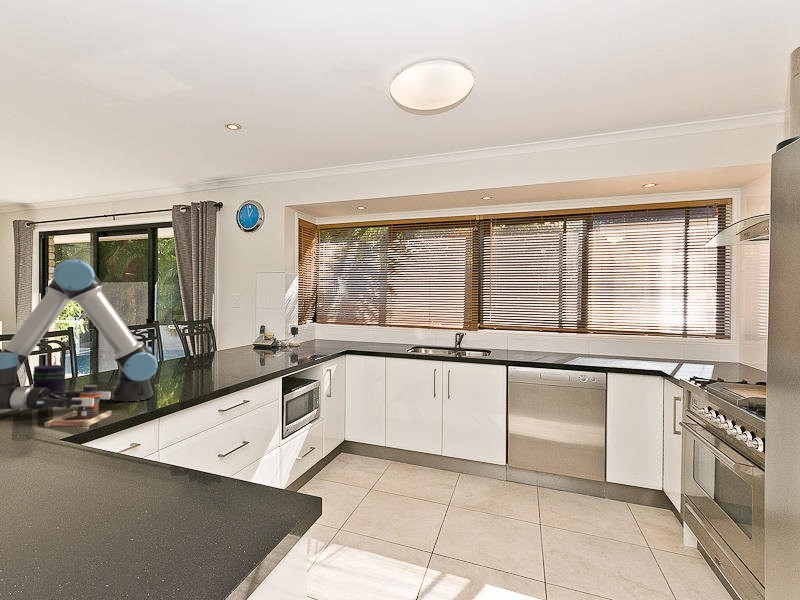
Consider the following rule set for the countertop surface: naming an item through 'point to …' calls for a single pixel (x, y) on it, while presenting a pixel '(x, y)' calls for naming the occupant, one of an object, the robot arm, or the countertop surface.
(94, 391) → the supplement bottle
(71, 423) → the guide channel
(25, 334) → the robot arm
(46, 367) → the storage jar
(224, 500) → the countertop surface
